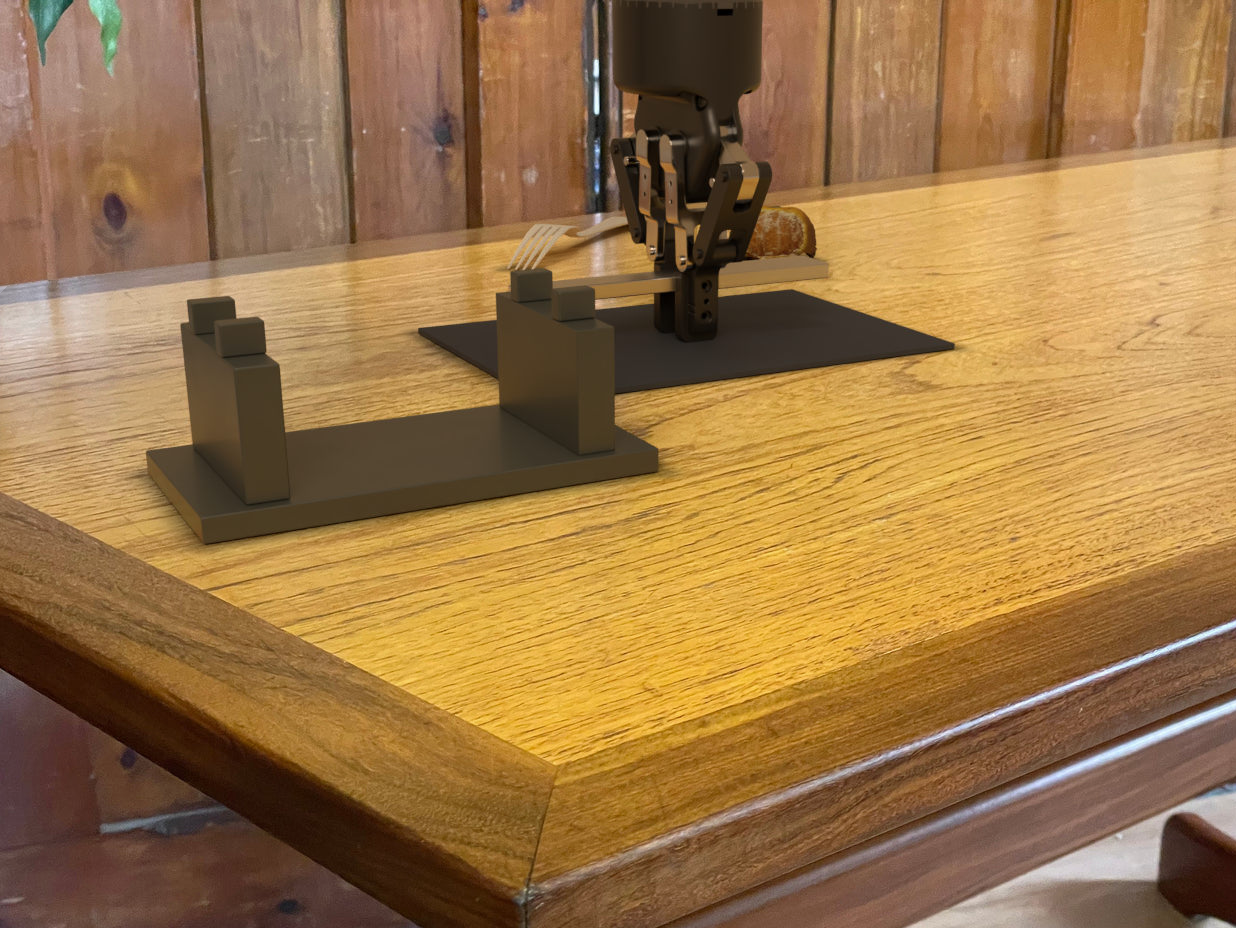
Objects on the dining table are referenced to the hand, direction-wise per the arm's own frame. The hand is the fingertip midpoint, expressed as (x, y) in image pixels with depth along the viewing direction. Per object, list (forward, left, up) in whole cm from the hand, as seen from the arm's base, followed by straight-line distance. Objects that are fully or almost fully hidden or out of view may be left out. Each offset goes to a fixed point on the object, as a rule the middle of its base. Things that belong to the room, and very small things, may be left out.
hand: (685, 334), depth 86 cm
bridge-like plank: (-1, 0, +3) cm, 3 cm away
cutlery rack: (-21, -15, 0) cm, 26 cm away
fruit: (+15, +17, -1) cm, 23 cm away
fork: (+8, +29, -1) cm, 30 cm away
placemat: (0, 0, 0) cm, 0 cm away
